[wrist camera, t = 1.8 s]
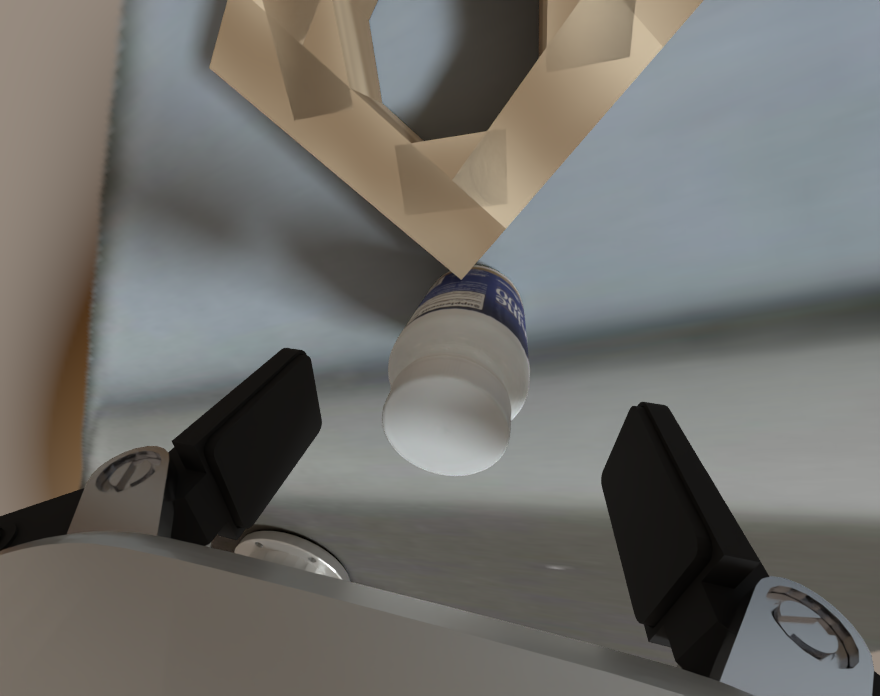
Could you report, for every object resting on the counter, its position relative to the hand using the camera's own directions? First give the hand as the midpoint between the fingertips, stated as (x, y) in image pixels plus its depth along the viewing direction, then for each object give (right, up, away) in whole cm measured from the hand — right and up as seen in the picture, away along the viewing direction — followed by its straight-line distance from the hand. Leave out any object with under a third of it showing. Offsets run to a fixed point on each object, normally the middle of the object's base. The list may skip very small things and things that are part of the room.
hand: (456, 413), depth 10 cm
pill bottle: (+1, +4, +9) cm, 10 cm away
